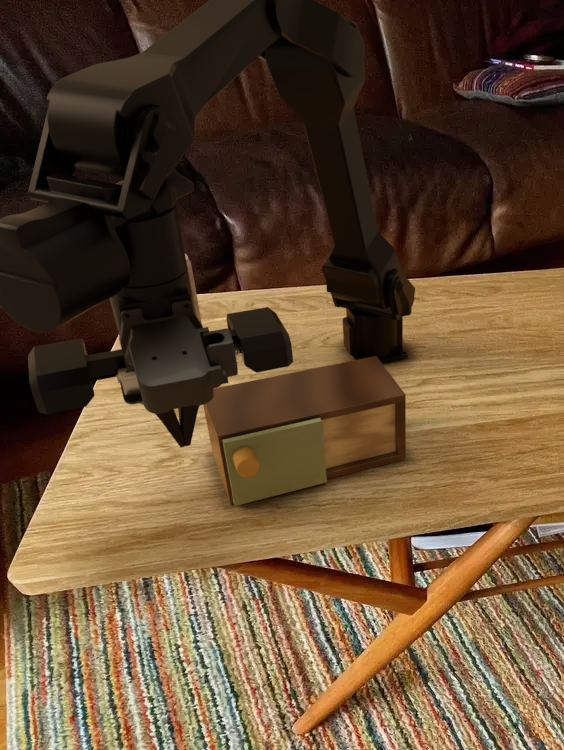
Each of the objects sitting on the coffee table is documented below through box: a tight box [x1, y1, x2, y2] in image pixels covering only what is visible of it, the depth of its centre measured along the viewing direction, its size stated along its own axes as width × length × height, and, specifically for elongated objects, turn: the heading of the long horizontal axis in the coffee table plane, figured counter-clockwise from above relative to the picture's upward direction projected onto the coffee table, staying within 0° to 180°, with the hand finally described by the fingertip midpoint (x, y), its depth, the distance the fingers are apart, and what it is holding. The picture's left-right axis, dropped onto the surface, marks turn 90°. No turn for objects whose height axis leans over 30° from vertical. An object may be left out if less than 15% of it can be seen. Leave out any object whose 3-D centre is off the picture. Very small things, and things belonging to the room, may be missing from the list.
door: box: [222, 418, 328, 507], centre depth 70 cm, size 9×3×7 cm, turn 115°
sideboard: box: [202, 356, 407, 505], centre depth 76 cm, size 18×8×8 cm, turn 115°
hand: (184, 444), depth 64 cm, fingers closed
